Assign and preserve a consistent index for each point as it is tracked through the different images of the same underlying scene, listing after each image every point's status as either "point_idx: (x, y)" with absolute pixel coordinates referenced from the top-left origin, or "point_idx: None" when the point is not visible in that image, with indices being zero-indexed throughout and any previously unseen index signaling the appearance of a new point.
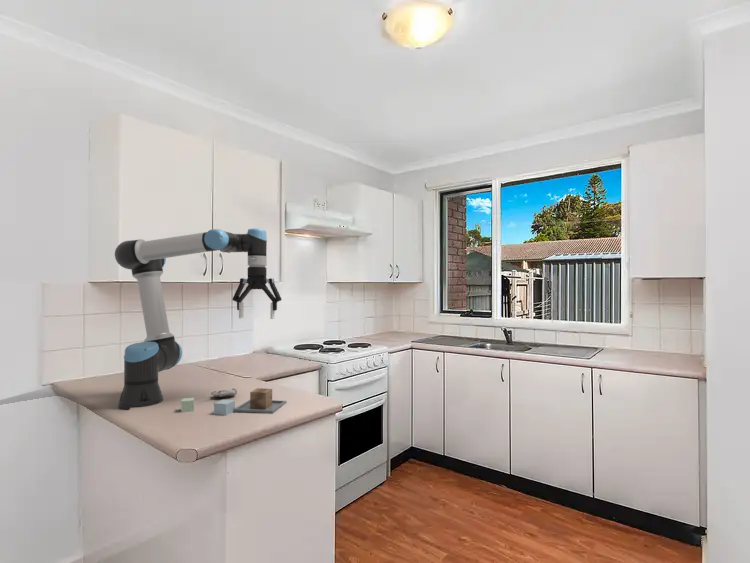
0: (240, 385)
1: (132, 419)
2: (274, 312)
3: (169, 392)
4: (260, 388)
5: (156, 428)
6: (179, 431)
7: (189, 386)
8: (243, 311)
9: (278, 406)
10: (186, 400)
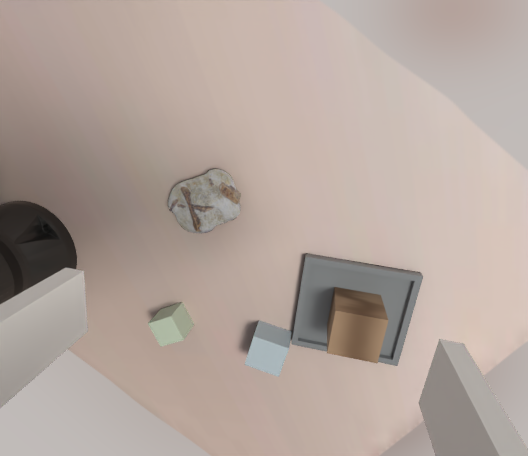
0: (191, 18)
1: (108, 369)
2: (495, 414)
3: (27, 144)
4: (347, 314)
5: (184, 420)
6: (234, 438)
7: (30, 55)
8: (24, 312)
9: (406, 330)
10: (167, 339)
